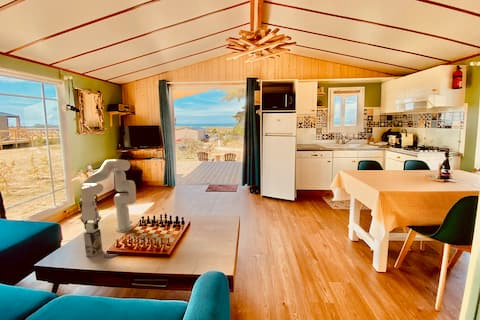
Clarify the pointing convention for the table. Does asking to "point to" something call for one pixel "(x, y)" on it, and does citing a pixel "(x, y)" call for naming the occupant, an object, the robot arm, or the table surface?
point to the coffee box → (93, 243)
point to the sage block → (90, 227)
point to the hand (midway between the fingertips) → (91, 228)
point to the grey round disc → (110, 255)
